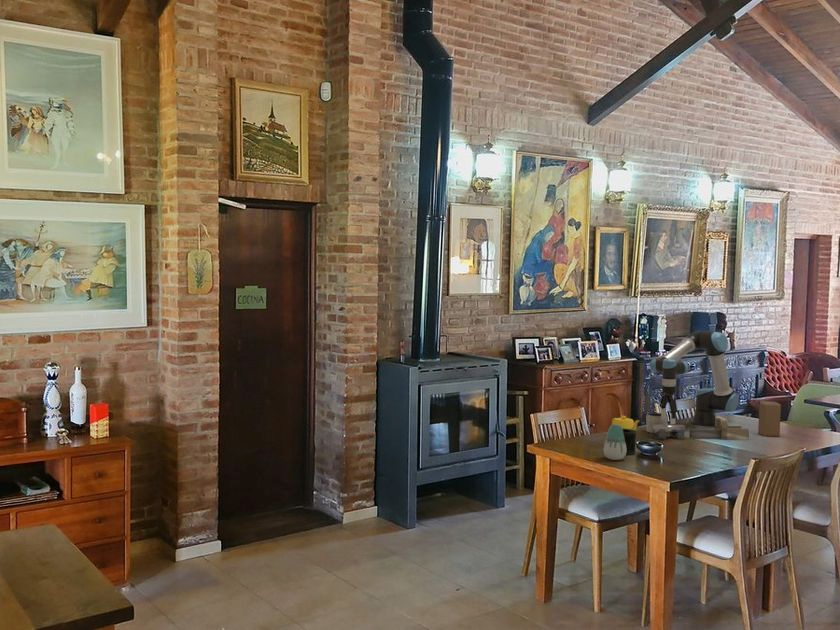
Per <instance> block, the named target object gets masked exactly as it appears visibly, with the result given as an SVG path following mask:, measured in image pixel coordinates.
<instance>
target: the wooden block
mask: <svg viewBox="0 0 840 630" xmlns="http://www.w3.org/2000/svg"><path fill="white" fill-rule="evenodd" d="M758 407H759V409H758V431H757V432H758V434H759V435H761V436H763V437H775V438H776V437H780V433H781V414H782V413H781V411H782V410H781V409H782V405H781V404H780V403H778V402H776V401H767V400H766V401H763V400H761V401H759V406H758Z"/></svg>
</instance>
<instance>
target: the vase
mask: <svg viewBox="0 0 840 630" xmlns="http://www.w3.org/2000/svg"><path fill="white" fill-rule="evenodd" d="M626 452H627V448H626V443H625V438H624V433H623V429H622V427H621V426H620V425H613V424H612V423H611V424H610V426H609V428H608V430H607V434H606V436H605V440H604V445H603V455H604V456H605V458H607V460H611V461H621V460H624V459H625V457H626V455H627V454H626Z"/></svg>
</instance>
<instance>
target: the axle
mask: <svg viewBox="0 0 840 630" xmlns="http://www.w3.org/2000/svg"><path fill="white" fill-rule="evenodd" d="M658 430H666V434H670V433H677V430H684V434H685V433H686V426H685V424H668V425H653V433H658Z"/></svg>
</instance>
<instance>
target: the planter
mask: <svg viewBox="0 0 840 630" xmlns="http://www.w3.org/2000/svg"><path fill="white" fill-rule="evenodd" d="M645 421H646V422H645V432H647V433H648V432H649V433H648V434H652V427H653V425H669V424H668V421H669V420H668V414H667V413H666V419H661V412H648V413H646V418H645Z"/></svg>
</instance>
